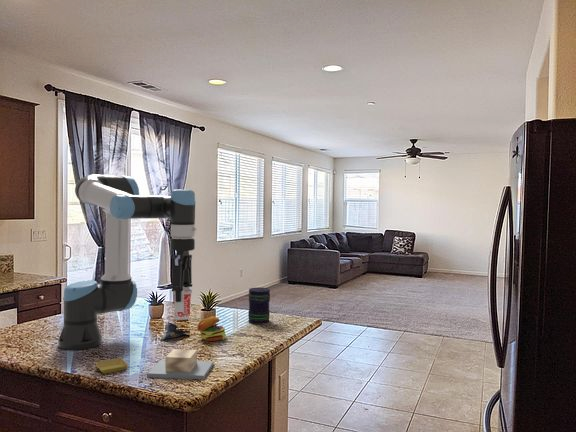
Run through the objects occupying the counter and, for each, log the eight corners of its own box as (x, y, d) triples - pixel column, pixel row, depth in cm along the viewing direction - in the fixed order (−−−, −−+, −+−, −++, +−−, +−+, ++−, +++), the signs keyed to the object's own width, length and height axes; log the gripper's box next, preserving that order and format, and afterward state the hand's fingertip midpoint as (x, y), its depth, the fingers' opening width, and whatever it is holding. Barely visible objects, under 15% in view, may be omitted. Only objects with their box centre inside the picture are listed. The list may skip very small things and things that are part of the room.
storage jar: (245, 320, 218) (245, 288, 218) (264, 318, 222) (265, 286, 222) (252, 325, 209) (253, 292, 209) (272, 323, 213) (273, 290, 213)
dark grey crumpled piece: (153, 335, 192) (163, 342, 182) (156, 319, 192) (165, 325, 182) (182, 336, 198) (192, 343, 188) (184, 321, 199) (195, 326, 189)
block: (165, 371, 148) (165, 357, 147) (173, 362, 156) (173, 349, 155) (190, 372, 147) (190, 357, 147) (196, 363, 155) (197, 349, 155)
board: (146, 377, 145) (147, 373, 145) (160, 362, 158) (160, 359, 158) (204, 379, 144) (204, 375, 144) (213, 364, 157) (213, 361, 157)
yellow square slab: (128, 371, 151) (128, 365, 151) (100, 376, 146) (100, 370, 146) (121, 363, 158) (121, 357, 158) (94, 368, 153) (94, 362, 153)
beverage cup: (174, 321, 147) (174, 276, 146) (170, 316, 152) (171, 273, 152) (193, 319, 149) (194, 275, 149) (189, 315, 155) (190, 273, 155)
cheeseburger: (221, 343, 182) (216, 318, 182) (196, 347, 184) (191, 322, 184) (230, 335, 191) (224, 311, 191) (206, 339, 194) (200, 316, 194)
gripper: (185, 240, 140) (185, 316, 141) (201, 235, 159) (200, 303, 160) (161, 239, 141) (160, 316, 142) (180, 235, 160) (179, 302, 161)
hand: (182, 309), depth 151 cm, fingers closed on beverage cup, 6 cm apart
